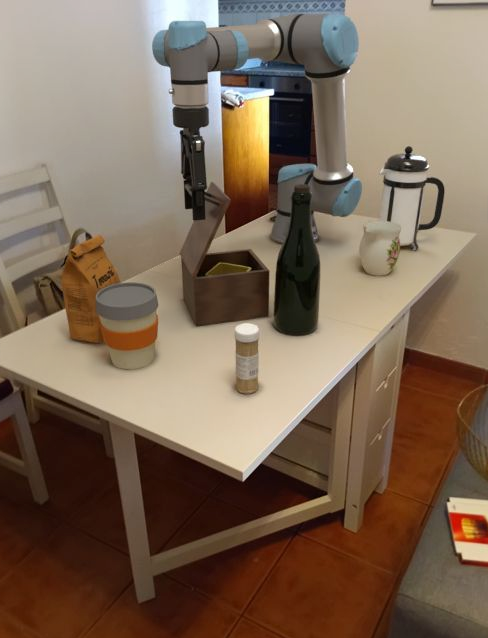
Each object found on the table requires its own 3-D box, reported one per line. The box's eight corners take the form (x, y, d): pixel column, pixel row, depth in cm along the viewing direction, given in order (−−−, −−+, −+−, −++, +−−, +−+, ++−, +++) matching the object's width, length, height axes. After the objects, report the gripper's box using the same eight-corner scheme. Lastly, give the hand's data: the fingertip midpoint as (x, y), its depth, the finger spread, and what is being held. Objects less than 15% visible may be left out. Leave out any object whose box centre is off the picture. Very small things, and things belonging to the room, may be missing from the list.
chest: (250, 292, 156) (250, 248, 150) (268, 316, 143) (269, 270, 137) (183, 300, 151) (180, 256, 145) (196, 326, 139) (193, 279, 133)
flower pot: (252, 300, 149) (252, 266, 145) (238, 314, 142) (238, 280, 138) (220, 294, 152) (219, 261, 148) (205, 308, 145) (204, 274, 141)
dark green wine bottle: (290, 340, 133) (296, 194, 116) (264, 322, 141) (267, 183, 124) (326, 329, 138) (338, 187, 121) (300, 312, 145) (307, 176, 129)
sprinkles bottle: (252, 380, 119) (252, 320, 112) (262, 391, 115) (263, 330, 109) (231, 385, 117) (230, 325, 111) (241, 397, 114) (241, 335, 107)
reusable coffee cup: (167, 368, 123) (162, 303, 115) (105, 378, 120) (96, 311, 112) (157, 340, 133) (152, 278, 126) (101, 348, 130) (92, 285, 123)
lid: (214, 182, 139) (186, 170, 136) (231, 200, 127) (200, 186, 123) (182, 254, 145) (154, 244, 142) (195, 277, 133) (165, 267, 130)
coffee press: (404, 257, 177) (419, 154, 162) (362, 243, 188) (372, 145, 173) (437, 244, 187) (453, 146, 172) (395, 232, 198) (408, 138, 183)
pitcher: (409, 265, 172) (416, 219, 165) (382, 285, 160) (388, 236, 153) (375, 256, 178) (380, 212, 171) (346, 275, 166) (350, 227, 159)
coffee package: (133, 325, 139) (123, 235, 128) (99, 349, 130) (85, 254, 119) (99, 317, 143) (87, 229, 132) (64, 339, 134) (47, 246, 123)
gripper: (163, 100, 130) (170, 202, 141) (182, 114, 113) (187, 229, 124) (197, 98, 132) (201, 200, 143) (220, 112, 114) (222, 226, 126)
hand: (194, 213), depth 134 cm, fingers closed on lid, 8 cm apart
